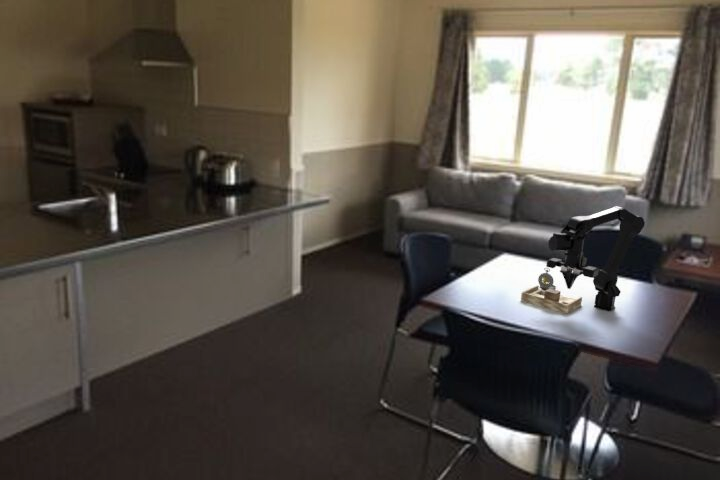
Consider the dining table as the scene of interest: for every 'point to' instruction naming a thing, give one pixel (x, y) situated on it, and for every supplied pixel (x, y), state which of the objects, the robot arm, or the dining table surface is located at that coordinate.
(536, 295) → the trap box
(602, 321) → the dining table surface
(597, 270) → the robot arm
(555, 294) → the block
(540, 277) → the pocket watch
